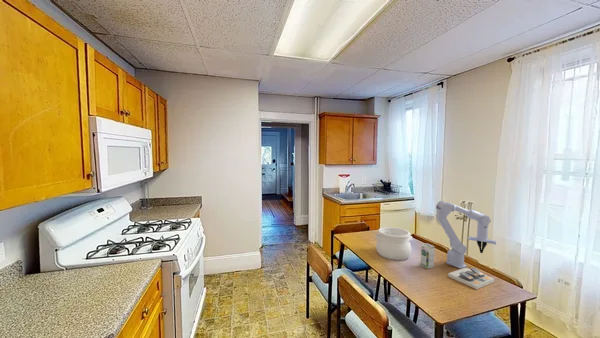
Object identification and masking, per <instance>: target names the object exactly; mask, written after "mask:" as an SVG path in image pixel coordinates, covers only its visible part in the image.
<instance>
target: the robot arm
mask: <svg viewBox="0 0 600 338" xmlns="http://www.w3.org/2000/svg"><path fill="white" fill-rule="evenodd" d="M435 210H436V215H435V216H436V219H437V220H438V222H439V224H440V225H441V227H442V229H443V230H444V232H445V234H446V236H447V238H448V240H449V241H448V242H449V243H450V244H449V245H450V248H451V249H449V250H448V251H447V253H446V262H445V264H448V265H451V266H453V267H455V268H458V269H463V268H467V267H468V265H467V264H465V254H466V253H467V251H468V249H467V246H466V245H465V244H463V242H462V241H461V240H460V239H459V237H458V235H457V234H456V232H455V230H454V228H453V227H452V225H451V224H450V222H449V220H448V219H447V218H448V216H449V215H450V214H451V213H452V212H455V211H456V212H459V213H461V214H464V215H465V216H466V218H468V219H471V220H473V221H475V222H477V226H476V227H477V228H476V236H468V240H469V241H474V242H476V244H477V246H478V248H479V253H480V254H483V253H484V250H485V248H486V246H487V245H488V244H492V245H494V246H495V245H497V241H496V240H492V239H490V238H489V239H488V234H489V225H490V223H491V222H492V219H491V218H490V216H488V215H487V214H484V213H483V212H478V211H476V209H474V208H472V209H471V208H470V209H466V208H464V207H461V206H459V205H457V204H454V203H451V202H448V201H444V200H440V201H438V202H437V204H436V206H435Z"/></svg>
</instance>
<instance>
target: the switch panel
mask: <svg viewBox="0 0 600 338" xmlns="http://www.w3.org/2000/svg"><path fill="white" fill-rule="evenodd" d="M470 269H471V268H469V267H463V268H459V269H457V270H454V271H452V272H448V274H447V277H448V278H450V279H453V280H455V281H458V282H460V283H461V284H463V285H466V286H468V287H471V288H473V289H474V290H478V289H480V288H483V287H485V286H487V285H491V284H493V283H495V277H491V276H488V275H487V274H484V275H483V276H481V277H480V276H477V277H474V276H472V277H473V278H474V279H472V280H468V279H467V278H465V277H463V276H462V275H460V274H459V273H460V272H463V271H464V272H466V271H471V270H470ZM471 272H473V271H471ZM470 276H471V275H470Z"/></svg>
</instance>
